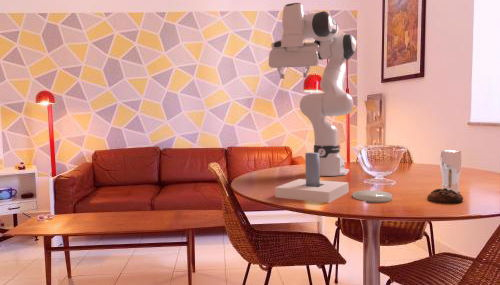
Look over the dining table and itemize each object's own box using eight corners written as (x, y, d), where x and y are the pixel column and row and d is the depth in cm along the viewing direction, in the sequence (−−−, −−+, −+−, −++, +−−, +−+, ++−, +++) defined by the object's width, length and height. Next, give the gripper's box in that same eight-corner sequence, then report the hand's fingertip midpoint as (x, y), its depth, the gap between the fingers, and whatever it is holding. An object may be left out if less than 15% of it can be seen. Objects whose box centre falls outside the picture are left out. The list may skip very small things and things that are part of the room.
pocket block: (299, 188, 160) (299, 178, 160) (348, 193, 150) (348, 182, 150) (275, 198, 144) (275, 187, 143) (328, 204, 133) (328, 192, 133)
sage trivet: (359, 193, 149) (359, 189, 149) (395, 196, 142) (395, 192, 142) (347, 200, 138) (347, 195, 138) (386, 204, 131) (386, 199, 131)
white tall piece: (444, 189, 154) (444, 149, 153) (463, 191, 149) (464, 150, 148) (436, 191, 149) (437, 151, 148) (457, 194, 144) (457, 152, 143)
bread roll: (447, 205, 128) (445, 189, 128) (419, 203, 138) (418, 188, 138) (471, 202, 132) (470, 187, 133) (443, 201, 143) (442, 186, 143)
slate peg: (309, 192, 150) (308, 152, 149) (321, 193, 147) (321, 152, 146) (303, 195, 146) (303, 153, 145) (316, 196, 143) (316, 154, 142)
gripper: (320, 43, 164) (320, 77, 165) (270, 46, 169) (271, 79, 170) (318, 40, 158) (318, 76, 159) (267, 44, 163) (267, 78, 164)
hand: (293, 78), depth 165 cm, fingers open, 8 cm apart
